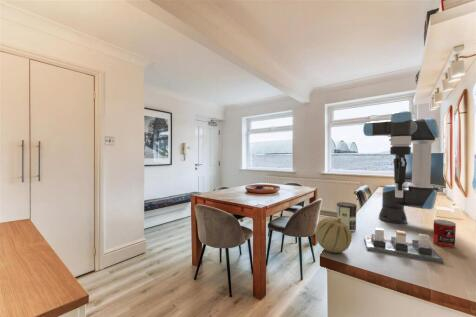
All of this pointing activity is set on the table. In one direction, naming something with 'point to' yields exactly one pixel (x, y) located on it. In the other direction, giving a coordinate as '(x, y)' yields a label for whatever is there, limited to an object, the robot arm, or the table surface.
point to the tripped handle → (401, 237)
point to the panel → (410, 249)
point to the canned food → (444, 233)
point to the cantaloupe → (333, 235)
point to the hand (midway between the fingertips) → (399, 197)
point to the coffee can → (347, 214)
